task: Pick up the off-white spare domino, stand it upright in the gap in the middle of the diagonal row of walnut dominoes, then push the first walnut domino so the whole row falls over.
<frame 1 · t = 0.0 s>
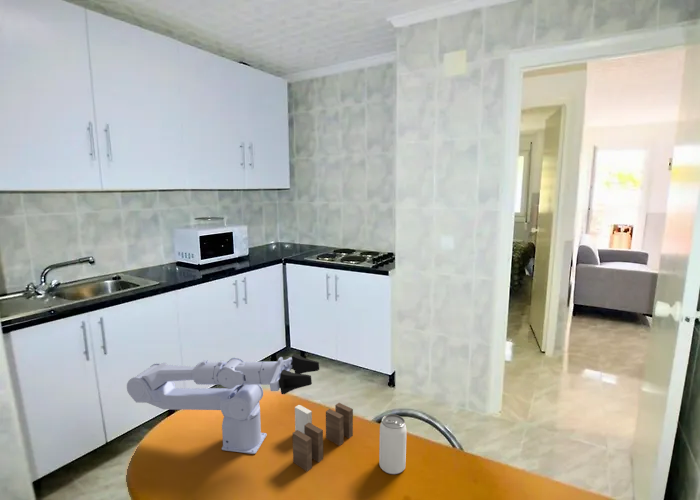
hand: (315, 372, 93), 22 cm above the table, tool horizontal, fingers open, 7 cm apart
domino 4: (334, 440, 100), on the table
spare domino: (303, 435, 102), on the table
domino 5: (344, 433, 103), on the table
domino 1: (302, 465, 91), on the table
can: (392, 466, 91), on the table
domino 2: (313, 456, 94), on the table
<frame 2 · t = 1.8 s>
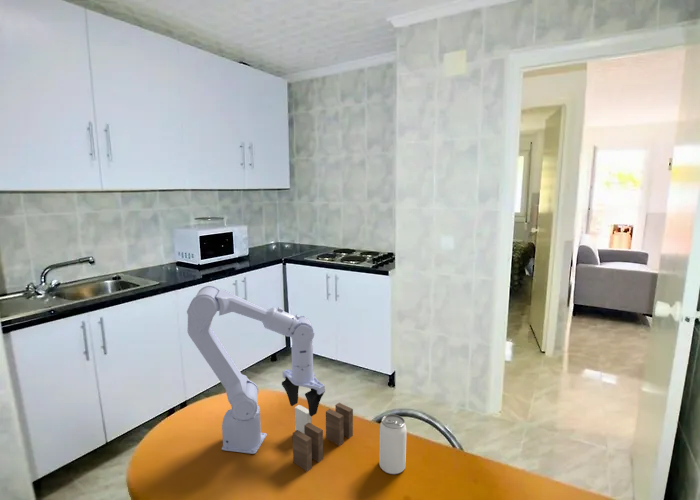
hand: (303, 409, 101), 8 cm above the table, tool pointing down, fingers open, 7 cm apart
nothing on the table moved.
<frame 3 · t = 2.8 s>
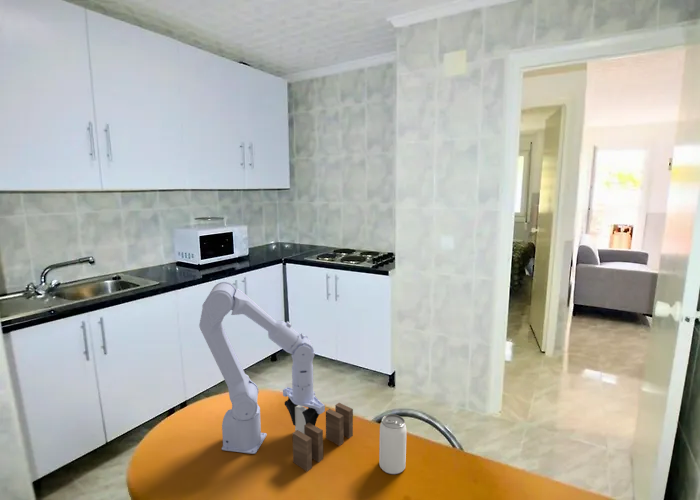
hand: (303, 427, 102), 2 cm above the table, tool pointing down, fingers closed on spare domino, 5 cm apart
spare domino: (303, 435, 102), on the table, touching gripper
everything else where it was.
when the fingers open (3 cm above the table, at t = 6.8 s): spare domino drops 1 cm, on the table.
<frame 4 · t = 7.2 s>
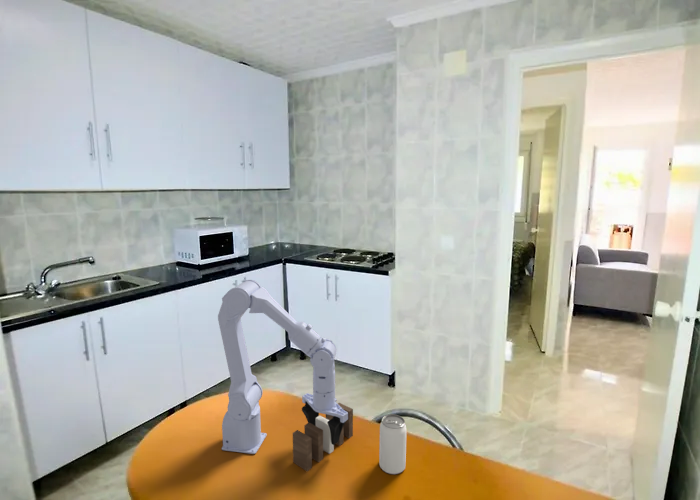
hand: (324, 436, 96), 3 cm above the table, tool pointing down, fingers open, 7 cm apart
spare domino: (324, 448, 97), on the table
everything else where it was.
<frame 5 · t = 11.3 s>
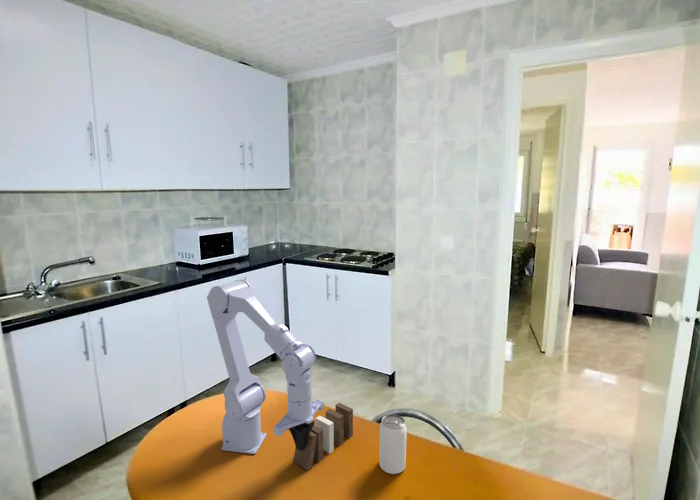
hand: (300, 448, 90), 5 cm above the table, tool pointing down, fingers closed
domino 1: (302, 464, 91), on the table, tilted 14°
everything else where it was.
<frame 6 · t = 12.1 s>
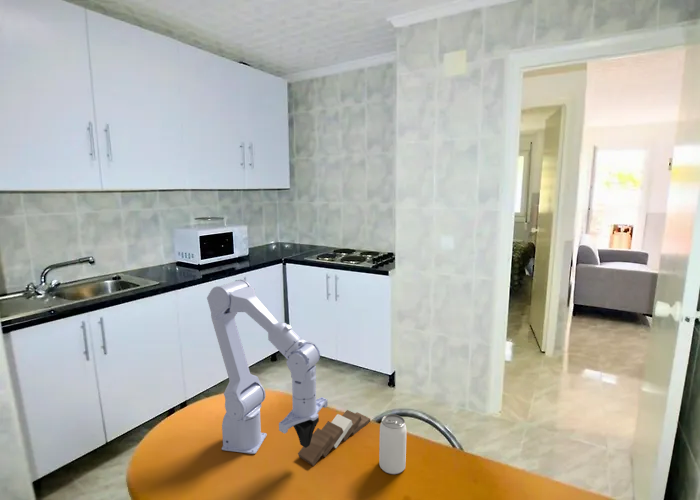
hand: (305, 444, 91), 5 cm above the table, tool pointing down, fingers closed
domino 4: (337, 435, 101), point 1 cm above the table, tilted 73°, touching domino 5, spare domino
spare domino: (327, 442, 98), point 1 cm above the table, tilted 66°, touching domino 2, domino 4
domino 5: (346, 430, 104), on the table, tilted 90°, touching domino 4
domino 1: (305, 459, 92), point 1 cm above the table, tilted 67°, touching domino 2
domino 2: (317, 451, 95), point 1 cm above the table, tilted 67°, touching domino 1, spare domino
everything else where it was.
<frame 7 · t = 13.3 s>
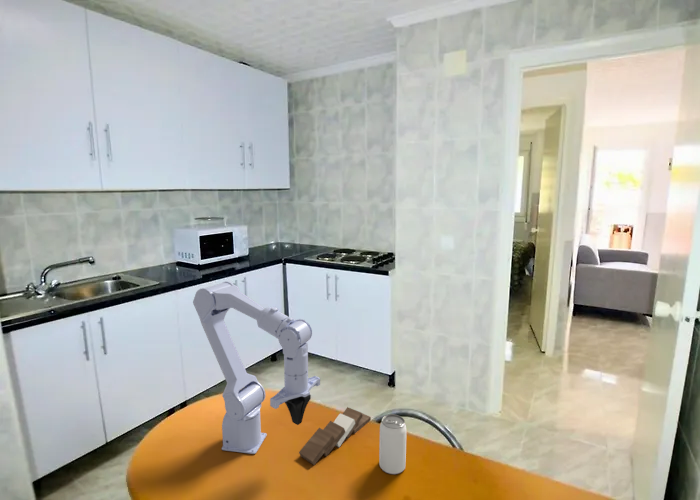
hand: (297, 422, 91), 10 cm above the table, tool pointing down, fingers closed
domino 4: (339, 433, 102), point 1 cm above the table, tilted 71°, touching domino 5, spare domino
spare domino: (331, 441, 98), point 1 cm above the table, tilted 68°, touching domino 4
domino 2: (318, 450, 95), point 1 cm above the table, tilted 68°, touching domino 1
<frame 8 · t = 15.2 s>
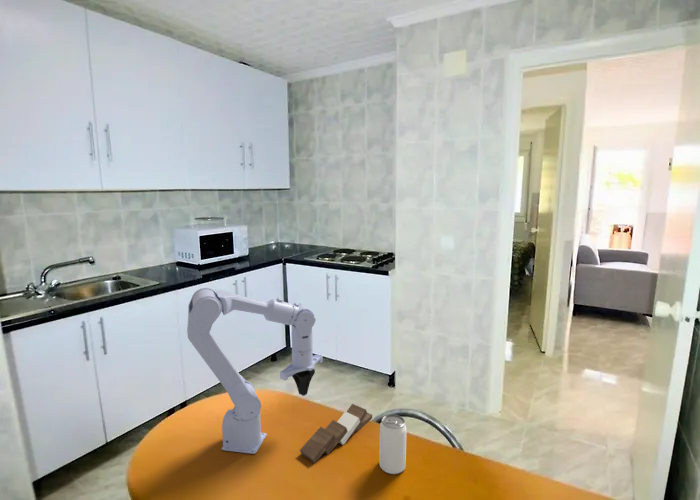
hand: (302, 393, 104), 10 cm above the table, tool pointing down, fingers closed
domino 4: (344, 430, 103), point 1 cm above the table, tilted 67°, touching domino 5, spare domino
spare domino: (335, 439, 99), point 1 cm above the table, tilted 67°, touching domino 2, domino 4
domino 5: (350, 427, 105), on the table, tilted 90°, touching domino 4
domino 1: (307, 456, 93), point 1 cm above the table, tilted 69°
domino 2: (320, 448, 96), point 1 cm above the table, tilted 70°, touching spare domino
everything else where it was.
at the end: domino 5 tilted 90°; spare domino tilted 68°; spare domino inside the target area (3.8 cm from its centre), point 0.8 cm above the table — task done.
